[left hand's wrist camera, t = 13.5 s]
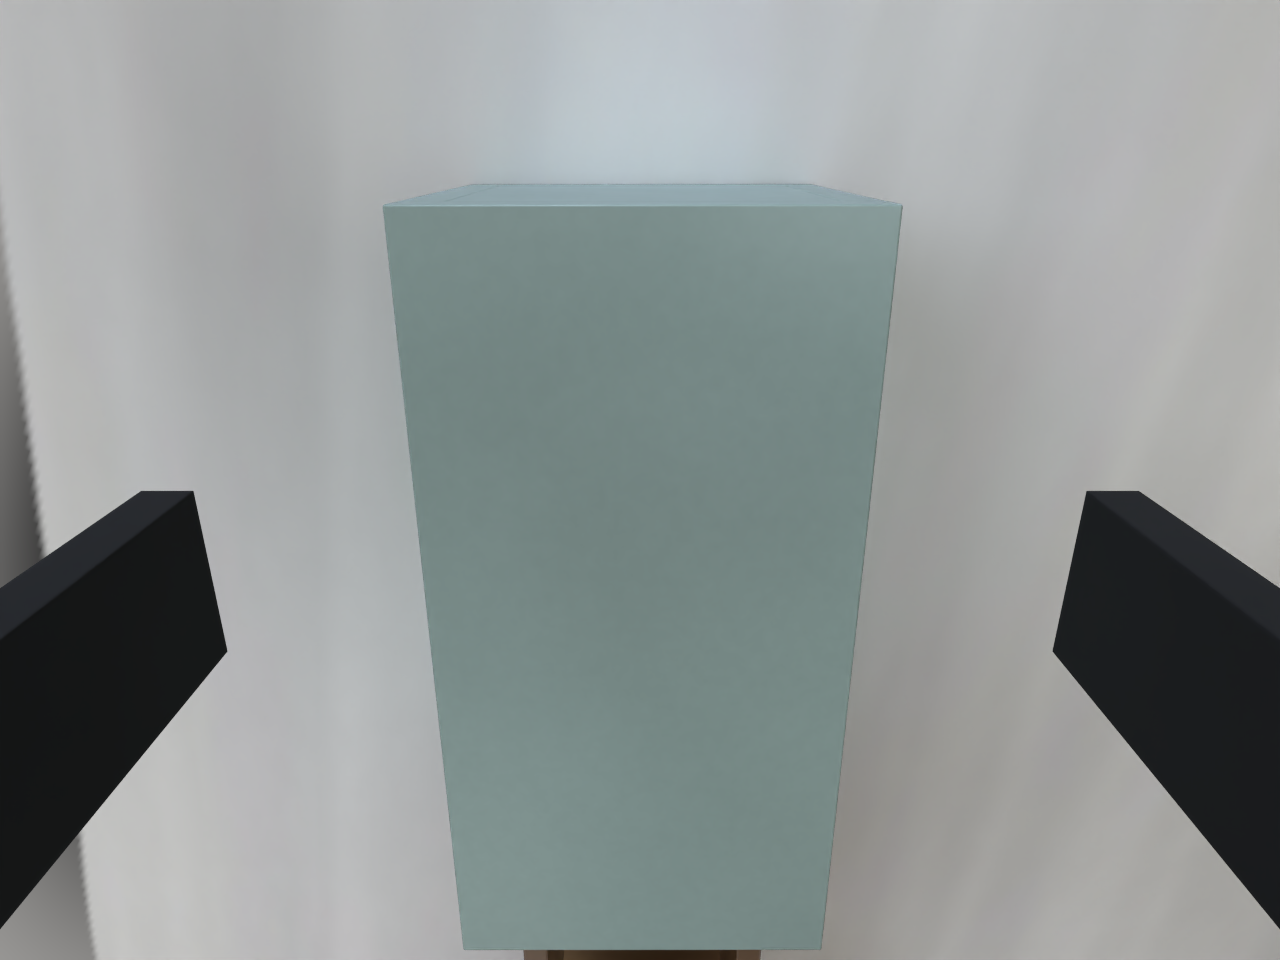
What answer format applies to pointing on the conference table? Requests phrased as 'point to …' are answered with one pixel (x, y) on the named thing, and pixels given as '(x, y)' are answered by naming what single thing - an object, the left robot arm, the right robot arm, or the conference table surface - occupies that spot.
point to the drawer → (642, 954)
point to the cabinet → (642, 544)
